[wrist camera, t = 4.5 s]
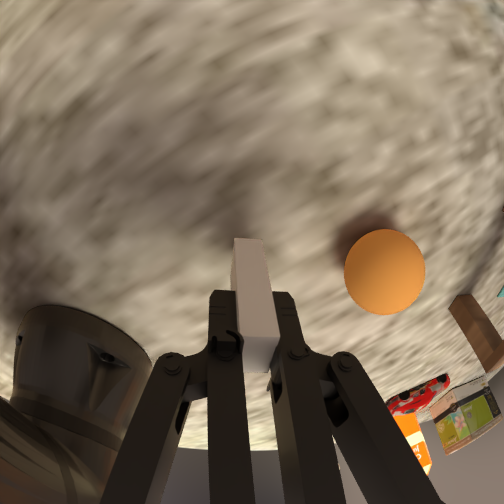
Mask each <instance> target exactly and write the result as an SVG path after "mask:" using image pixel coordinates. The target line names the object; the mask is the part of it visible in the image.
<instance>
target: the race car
mask: <svg viewBox="0 0 504 504" xmlns="http://www.w3.org/2000/svg"><path fill="white" fill-rule="evenodd" d="M449 384H450V378H449V376H448V375H447V374H446V375H444V374H442V375H440V376H438V377H437V378H435V379H433V380H431V381H429V382H427V383H425V384H422V385H420V386H418V387H415V388H413V389H411V390H409V392H408V391H405V392H402V393H400V394H399V396H398V395H397V396H396V397H394V398H393V399H391V400H390V401H389V402H388V403H387V405H386V406H387V407H388V409H389V411H390V412H391V414H392V416H398V415H407V414H411V413H414V412H416V411H419V410H421V409H423V408H424V407H426V406H427V405H428V404H429V403H430V401H431V400H432V399H433V398H434V397H435V396H437V395H438V394H440V393H441V392H442V391H444V390H445V389H446V388H447V387H448V386H449Z"/></svg>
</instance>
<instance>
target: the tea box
mask: <svg viewBox="0 0 504 504" xmlns="http://www.w3.org/2000/svg"><path fill="white" fill-rule="evenodd" d="M430 412H431V415H432V418H433V420H434V423H435V425H436V428H437V431H438V433H439V436H440V439H441V442H442V445H443V448H444V451H445V453H446V455H449V454H451V453H453V452H455V451H457V450H459V449H461V448H462V447H464V446H466V445H468V444H469V443H471V442H472V441H474V440H475V439H477V438H478V437H480V436H482V435H483V434H484V433H486V432H487V431H488V430H490V429H491V428H493V427H494V426H495V425H497V424H498V423H499V422H500V421H501V420H503V417H502V414H501V412H500V409H499V407H498V405H497V402H496V400H495V398H494V396H493V394H492V392H491V390H490V387H489V385H488V383H487V381H486V379H485V377H484V376H483V377H480V378H478V379H476V380H474V381H471V382H469V383H467V384H465V385H462V386H460V387H457V388H455V389H452V390H451V391H449V392H448V393H447V394H446V395H444V396H443V397H442V398H441V399H440V400H439V401H437V402H436V403H435V404H434V405H432V406H431V407H430Z"/></svg>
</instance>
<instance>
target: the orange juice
mask: <svg viewBox="0 0 504 504" xmlns="http://www.w3.org/2000/svg"><path fill="white" fill-rule="evenodd" d="M394 419H395V421H396V422H397V424H398V426H399V427H400V429H401V431H402V433H403V434H404V436H405V438H406V439H407V441H408V443H409V444H410V446H411V448H412V450H413V451H414V453H415V455H416V457H417V458H418V460H419V462H420V464H421V465H422V467H423V469H424V471H425V472H426V474H427V475H428V472H429V470H430V467H431V465H432V462H431V459H430V456H429V453H428V450H427V447H426V444H425V441H424V438H423V435H422V432H421V429H420V427H419V424H418V421H417V418H416V416H415V413H411V414H407V415H398V416H394Z"/></svg>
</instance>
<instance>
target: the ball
mask: <svg viewBox="0 0 504 504" xmlns="http://www.w3.org/2000/svg"><path fill="white" fill-rule="evenodd" d="M344 279H345V284H346V287H347V290H348V292H349V294H350V296H351V297H352V299H353V300H354V301H355V302H356V304H358V305H359V306H360V307H361V308H363V309H364V310H366V311H368V312H371V313H373V314H378V315H390V314H394V313H397V312H400V311H402V310H404V309H406V308H407V307H408V306H410V305H411V304H412V303H413V302H414V301H415V299H416V298H417V297H418V295H419V293H420V292H421V289H422V287H423V284H424V280H425V263H424V259H423V256H422V254H421V251H420V249H419V248H418V246H417V245H416V244H415V242H414V241H413V240H411V239H410V238H409V237H408V236H406V235H405V234H403V233H401V232H398V231H395V230H390V229H381V230H375V231H372V232H370V233H368V234H366V235H364V236H363V237H361V238H360V239H359V240H358V241H357V242H356V243H355V244H354V245H353V246H352V248H351V249H350V251H349V253H348V255H347V258H346V261H345V266H344Z"/></svg>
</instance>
